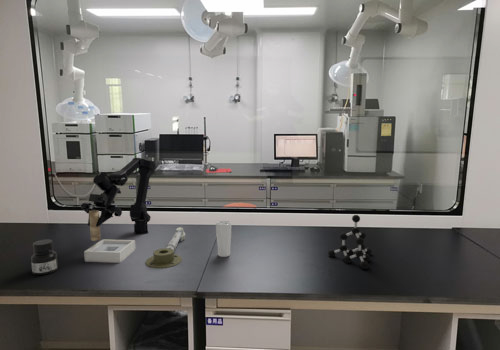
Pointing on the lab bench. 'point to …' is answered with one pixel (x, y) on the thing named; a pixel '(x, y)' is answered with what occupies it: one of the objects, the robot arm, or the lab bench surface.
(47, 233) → the lab bench surface
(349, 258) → the molecular model
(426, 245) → the lab bench surface
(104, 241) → the box
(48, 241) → the ink bottle
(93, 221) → the peg
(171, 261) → the flange
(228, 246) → the drinking glass
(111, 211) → the robot arm
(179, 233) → the light grey piece
